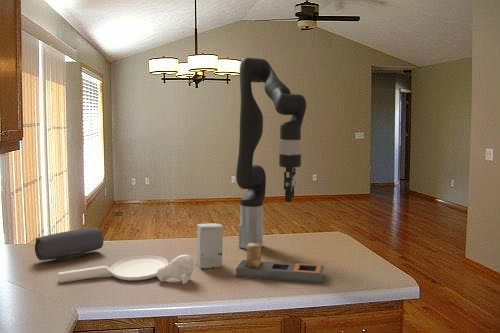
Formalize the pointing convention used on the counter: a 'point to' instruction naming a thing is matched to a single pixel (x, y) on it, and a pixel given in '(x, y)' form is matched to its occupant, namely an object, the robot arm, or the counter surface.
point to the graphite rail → (282, 271)
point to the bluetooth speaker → (68, 244)
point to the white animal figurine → (177, 269)
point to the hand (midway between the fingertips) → (289, 199)
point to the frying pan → (120, 269)
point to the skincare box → (209, 245)
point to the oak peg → (254, 255)
